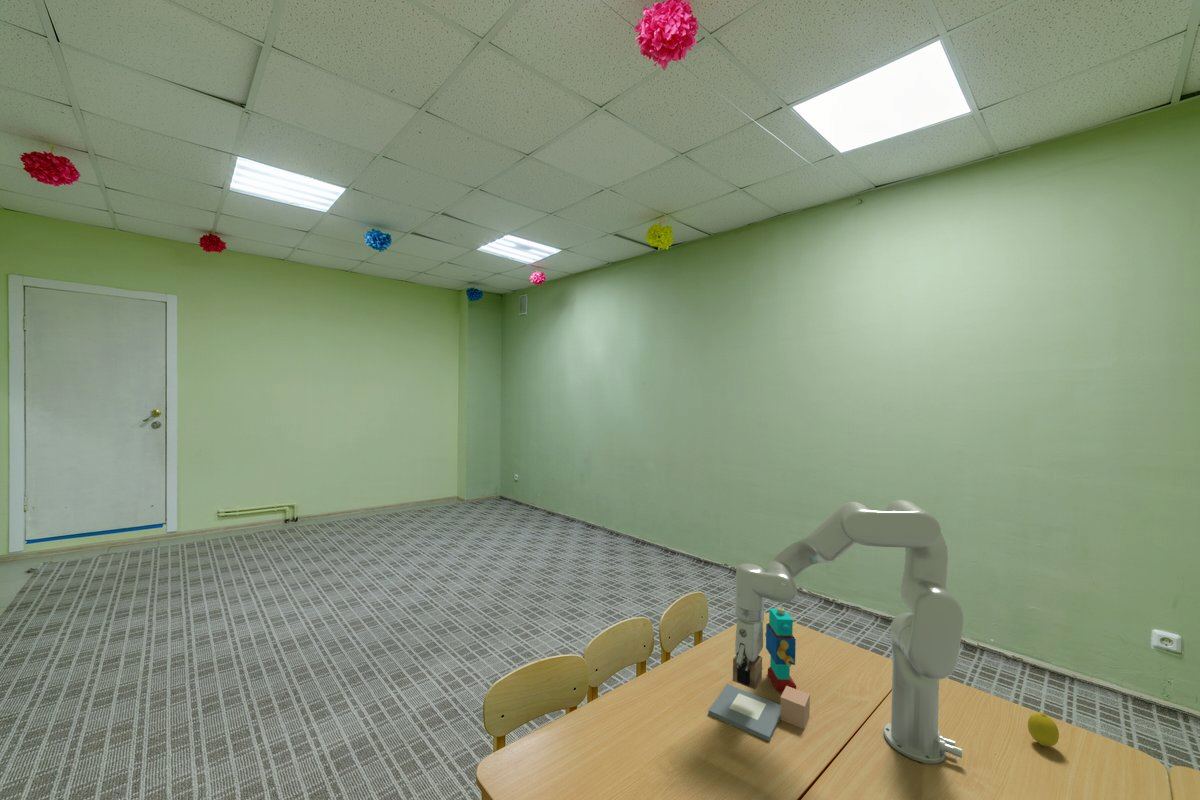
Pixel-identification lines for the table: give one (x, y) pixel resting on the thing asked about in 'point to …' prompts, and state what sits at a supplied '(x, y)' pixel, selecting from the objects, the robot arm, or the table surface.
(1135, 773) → the table surface
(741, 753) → the table surface
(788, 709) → the terracotta block
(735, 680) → the walnut block
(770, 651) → the toy robot
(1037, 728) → the lemon
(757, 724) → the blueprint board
